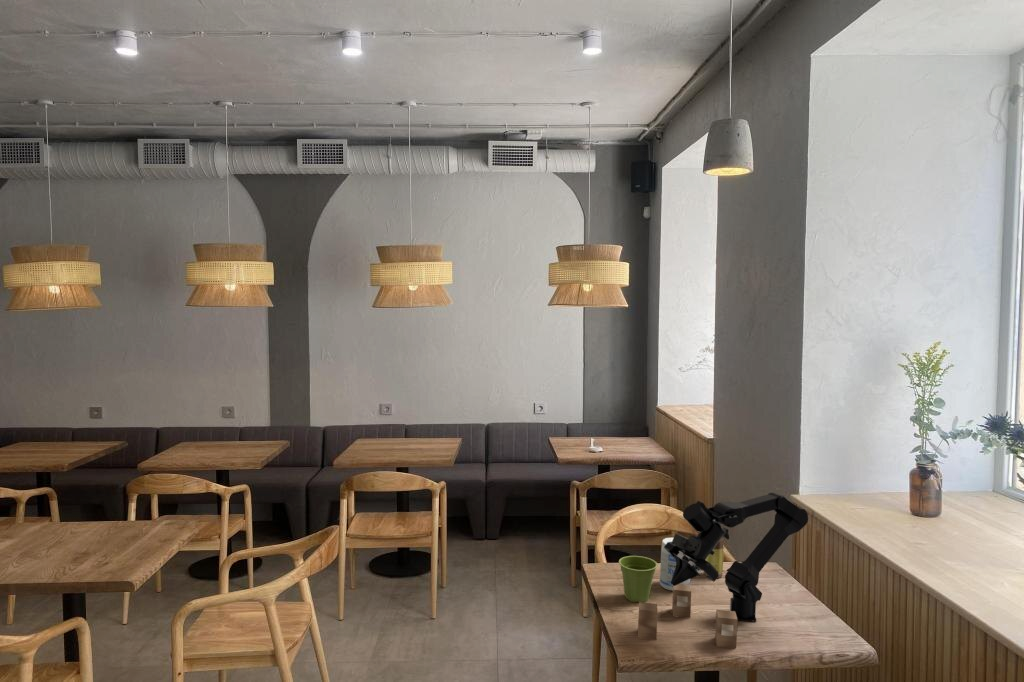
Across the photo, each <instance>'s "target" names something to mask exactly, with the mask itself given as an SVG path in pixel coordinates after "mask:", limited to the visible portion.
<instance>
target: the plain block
mask: <svg viewBox="0 0 1024 682" xmlns="http://www.w3.org/2000/svg"><path fill="white" fill-rule="evenodd" d="M637 619H638V621H637V639H644V640H653V641H656V640H658V639H657V637H658V636H657V633H658V603H652V602H638V618H637Z"/></svg>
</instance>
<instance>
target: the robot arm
mask: <svg viewBox="0 0 1024 682" xmlns="http://www.w3.org/2000/svg"><path fill="white" fill-rule="evenodd" d="M771 511H774V512H775V514H774V522H773V525H772V527H770V529H769V531H768V532H767V533H765V535H764V537H763V538H762V539H761V540H760V542H759V543H758V544H757V545H756V547H755V548H754V549H753V550H752V551H751V553H750V554H749V555H748V556H747V558H745V560H743V561H742V562H739V561H738V560H735V561H733V562H732V563H731V566H729V568H727V569H726V571H727V572H726V573H725V575H724V582H725V583H724V584H725V585H726V587H727V590H728V592H729V593H731V594H732V597H730V600H729V602H730V603H729V604H730V605H729V611H735V612H736V616H737V621H745V622H754V623H755V622H757V617H756V609H757V608H756V606H757V605H756V604H757V602H758V601H761V598H762V597H763V592H762V591H761V590H760V589H759V588H758V587H757V585H758V583H759V579H760V572H761V571H762V570H763V568H764V567H765V566H766V565H767V564H768V562H769V561H770V559H771V558H772V557H773V556H774V554H775V553H776V552H777V551H778V549H779V548H780V547H781V546H782V544H784V542H785V541H786V540H787V538H788V537H789V536H791V535H794V534H797V533H798V532H800V531H801V530H803V528H804V527H805V526H806V525H807V523H808V522H809V517H808V516H809V515H808V511H807V510H806V509H804V508H801V507H799V506H797V505H796V504H795V503H793V502H791V501H790V500H788V498H787V497H785V496H784V495H782V494H779V493H776V492H775V491H774V492H773V491H772V492H769V493H768V494H763V495H760V496H758V497H754V498H749V499H746V500H743V501H740V502H736V501H735V502H734V501H733V502H732V501H722V502H720V501H719V502H717V503H716V504H714V505H713V506H711V507H707V506H706V504H705V503H704V502H702V501H701V500H697V501H696V503H691V504H689V505H688V506H686V507H685V509H684V510H683V511H682V517H683V519H684V520H685V521H686V523H688V524H689V525H690V526H691V528H693V529H694V530H695V531H696V532H698V533H697V534H696V535H691V536H690V537H686V536H683V535H682V534H678V533H676V532H675V533H674V536H673V537H672V538H673V541H672V542H668V543H667V544H666V545H665V546H664V548H665V549H666V550H667V551H668V552H669V553H670V554H671V555H672V556H673V558H675V559H676V568H675V571H674V574H673V577H672V580H671V584H672V585H673V586H676V585H678V584H680V583H682V582H684V581H686V580H688V579H690V580H691V579H693V578H696V577H700V576H701V574H700V573H701V572H703V573H704V572H705V573H706V574H707V576H706V577H707V579H709V581H712V582H713V583H714V582H716V580H717V579H719V578H718V571H717V570H716V569H715V568H714V567H713V566H712V565H711V564H710V563H709V562H707V561H706V560H705V559H706V558H707V557H708V555H709V554H711V555H713V554H714V551H713V549H714V547H715V546H716V545H717V543H718V542H719V541H720V539H721V538H722V537H723V539H724V540H725V539H726V540H730V535H729V529H728V528H730V529H733V528H735V527H737V526H739V525H741V524H743V523H744V521H745V520H746V519H748V518H751V517H754V516H758V515H762V514H765V513H768V512H771ZM713 520H715V521H717V522H719V523H721V524H718V523H715V522H713ZM721 525H723V526H725V527H723V526H721ZM726 527H727V528H726Z"/></svg>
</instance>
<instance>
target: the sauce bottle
mask: <svg viewBox="0 0 1024 682" xmlns="http://www.w3.org/2000/svg"><path fill="white" fill-rule="evenodd" d="M713 522H715V523H718V524H720V525H722V524H721V523H719V522H717V521H715V520H713ZM724 546H725V545H724V538H723V537H722V538H721V539H720V541H719V542H718V543H717V545H716V546H715V547H714V549H713V551H714V554H713V555H711V554H709V555H708V557H707V558H706V559H705V560H706V561H707V562H709V563H710V564H711V565H712V566H713V567H714V568H715V569H716V570H717V571H718V578H717V579H720V578H723V572H724V548H725V547H724ZM703 573H704V576H705V577H707V574H706V573H705V572H704V571H703Z"/></svg>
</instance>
